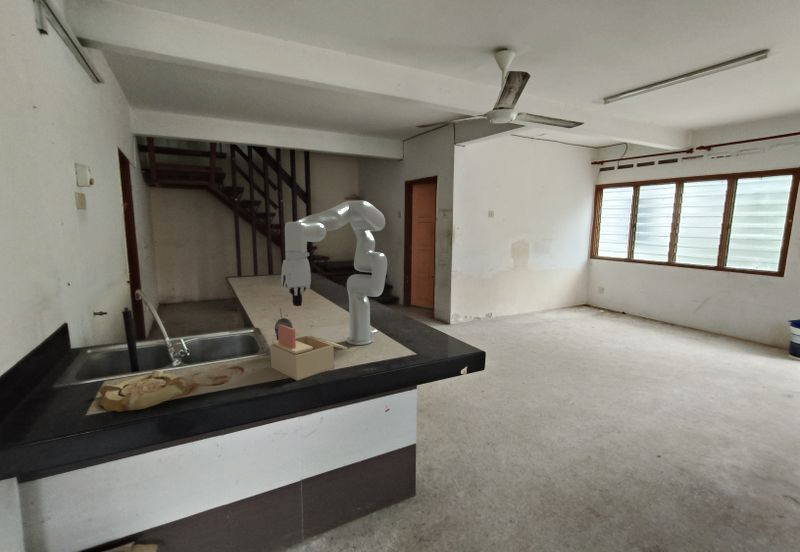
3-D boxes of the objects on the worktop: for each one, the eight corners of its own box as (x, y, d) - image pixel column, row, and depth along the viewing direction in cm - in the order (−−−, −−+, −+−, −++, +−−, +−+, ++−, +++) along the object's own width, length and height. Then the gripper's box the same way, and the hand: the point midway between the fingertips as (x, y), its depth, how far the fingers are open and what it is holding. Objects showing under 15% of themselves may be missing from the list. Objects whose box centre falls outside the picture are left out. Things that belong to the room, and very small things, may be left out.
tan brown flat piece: (185, 374, 137) (184, 361, 137) (189, 399, 117) (188, 384, 117) (103, 389, 125) (101, 375, 124) (92, 420, 105) (90, 403, 104)
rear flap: (347, 347, 148) (346, 349, 148) (322, 338, 159) (321, 340, 159) (333, 344, 143) (333, 346, 143) (308, 335, 154) (308, 337, 154)
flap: (288, 339, 147) (287, 320, 146) (312, 349, 136) (312, 328, 135) (271, 343, 142) (270, 323, 141) (295, 353, 131) (294, 332, 130)
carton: (307, 356, 155) (306, 335, 154) (333, 368, 143) (333, 345, 142) (271, 367, 143) (270, 344, 142) (297, 380, 131) (296, 355, 130)
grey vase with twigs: (288, 358, 153) (286, 310, 151) (272, 357, 155) (270, 309, 152) (296, 352, 160) (295, 306, 158) (281, 351, 162) (279, 305, 159)
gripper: (307, 254, 145) (308, 301, 147) (272, 256, 134) (273, 306, 136) (319, 255, 140) (320, 304, 142) (283, 257, 129) (284, 310, 131)
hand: (297, 305), depth 139 cm, fingers closed
